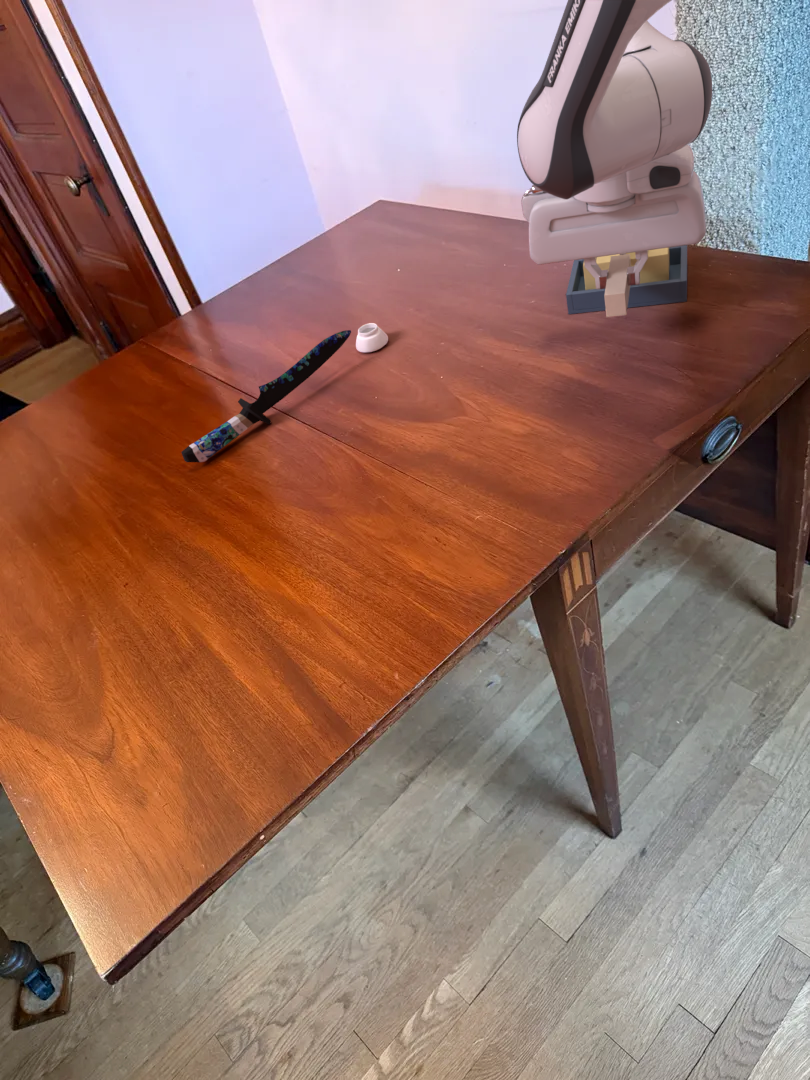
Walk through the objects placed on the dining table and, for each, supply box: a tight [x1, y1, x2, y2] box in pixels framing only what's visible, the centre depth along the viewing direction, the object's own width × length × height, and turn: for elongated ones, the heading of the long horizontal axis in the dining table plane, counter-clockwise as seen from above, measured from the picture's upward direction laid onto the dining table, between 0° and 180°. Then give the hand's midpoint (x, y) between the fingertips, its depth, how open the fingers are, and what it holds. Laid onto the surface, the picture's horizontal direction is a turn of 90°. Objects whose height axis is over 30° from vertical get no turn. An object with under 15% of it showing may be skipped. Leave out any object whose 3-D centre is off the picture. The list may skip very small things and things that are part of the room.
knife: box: [180, 329, 352, 463], centre depth 105 cm, size 31×3×4 cm, turn 126°
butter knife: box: [604, 253, 631, 318], centre depth 98 cm, size 23×2×3 cm, turn 164°
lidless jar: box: [355, 322, 389, 353], centre depth 113 cm, size 5×3×5 cm
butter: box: [583, 248, 670, 290], centre depth 103 cm, size 11×5×4 cm, turn 74°
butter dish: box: [565, 245, 688, 315], centre depth 105 cm, size 16×11×3 cm
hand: (618, 285), depth 93 cm, fingers closed on butter knife, 2 cm apart
